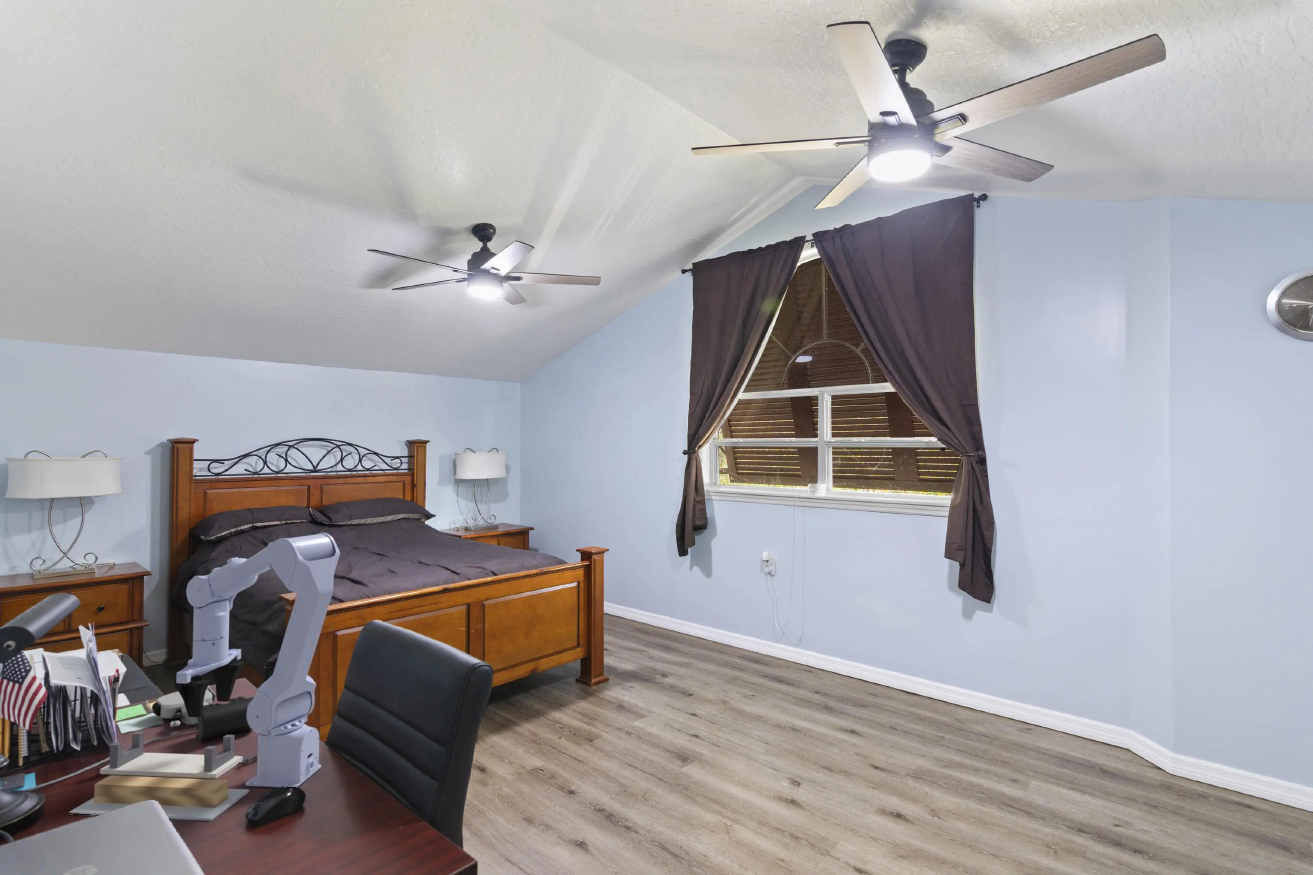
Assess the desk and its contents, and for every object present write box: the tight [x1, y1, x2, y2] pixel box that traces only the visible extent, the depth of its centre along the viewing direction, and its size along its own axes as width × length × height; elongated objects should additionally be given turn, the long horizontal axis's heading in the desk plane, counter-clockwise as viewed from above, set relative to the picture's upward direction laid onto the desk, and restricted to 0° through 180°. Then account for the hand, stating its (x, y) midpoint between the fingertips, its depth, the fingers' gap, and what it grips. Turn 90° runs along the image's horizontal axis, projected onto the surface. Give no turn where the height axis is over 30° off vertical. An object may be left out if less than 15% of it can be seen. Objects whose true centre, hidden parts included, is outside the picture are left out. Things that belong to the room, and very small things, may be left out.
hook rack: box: [99, 731, 243, 780], centre depth 124 cm, size 22×7×5 cm, turn 86°
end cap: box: [193, 695, 255, 744], centre depth 138 cm, size 10×7×7 cm
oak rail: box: [93, 774, 229, 808], centre depth 112 cm, size 21×3×3 cm, turn 86°
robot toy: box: [145, 685, 223, 728], centre depth 147 cm, size 12×4×15 cm
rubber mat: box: [68, 788, 250, 821], centre depth 112 cm, size 24×9×1 cm, turn 86°
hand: (209, 708), depth 128 cm, fingers open, 7 cm apart
